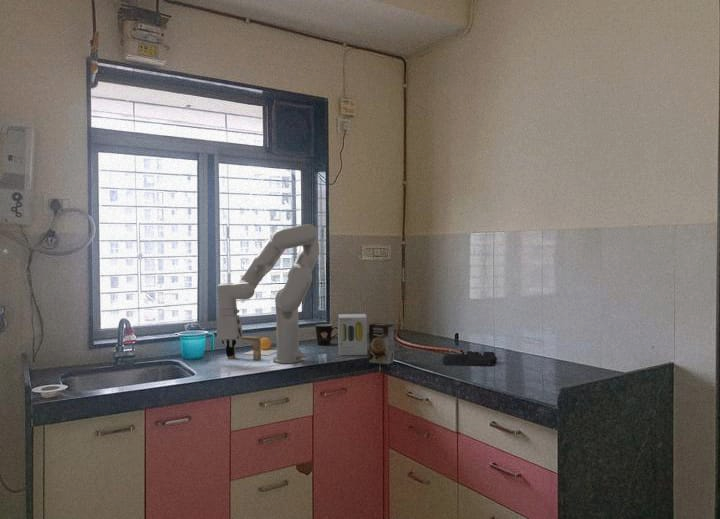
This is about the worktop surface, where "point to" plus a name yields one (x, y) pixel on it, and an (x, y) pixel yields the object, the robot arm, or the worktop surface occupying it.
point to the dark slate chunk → (470, 359)
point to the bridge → (255, 347)
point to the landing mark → (263, 352)
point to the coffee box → (381, 343)
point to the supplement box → (352, 334)
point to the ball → (265, 343)
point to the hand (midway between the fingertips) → (230, 355)
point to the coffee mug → (324, 334)
